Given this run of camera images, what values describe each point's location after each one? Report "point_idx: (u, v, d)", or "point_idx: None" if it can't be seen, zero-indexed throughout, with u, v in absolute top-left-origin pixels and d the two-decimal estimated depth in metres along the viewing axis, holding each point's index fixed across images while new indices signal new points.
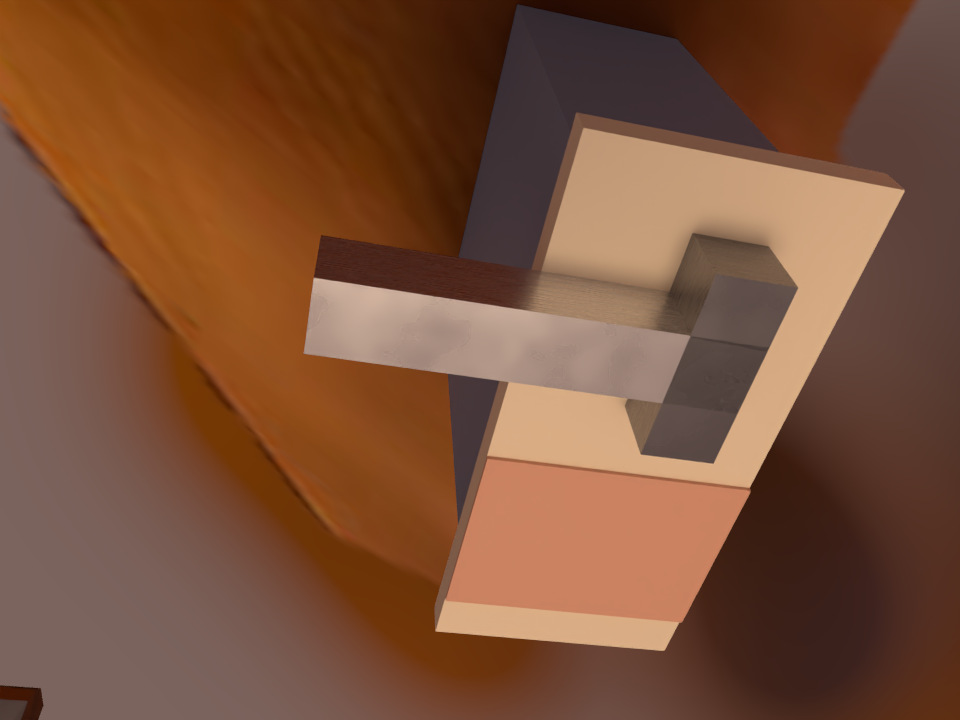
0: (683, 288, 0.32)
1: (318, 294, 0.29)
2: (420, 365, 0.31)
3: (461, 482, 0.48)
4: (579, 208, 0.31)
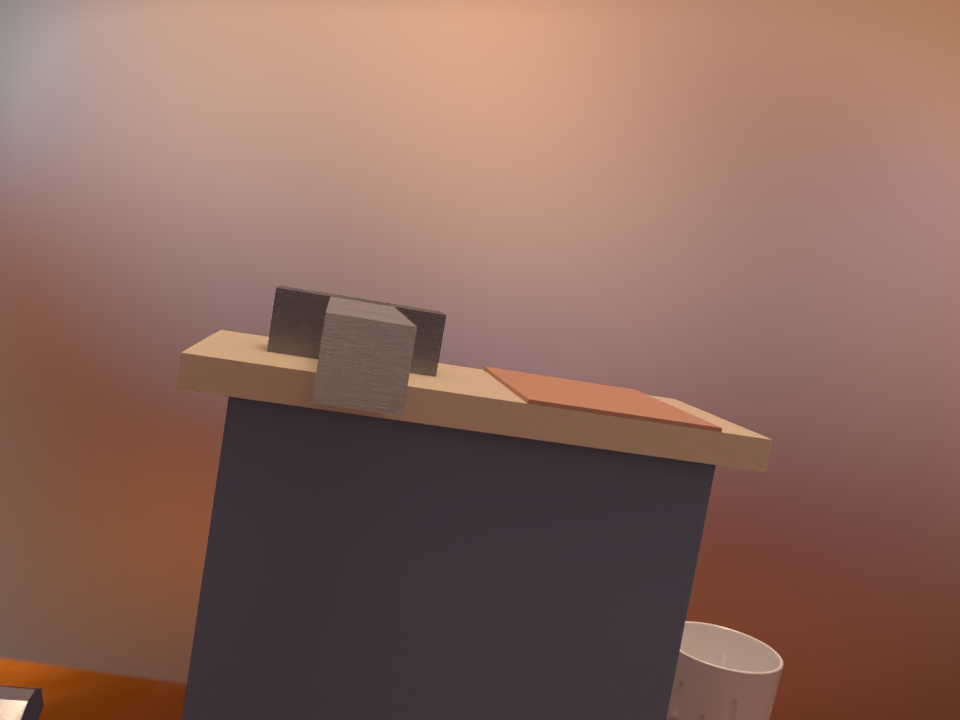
0: (307, 335, 0.42)
1: (344, 315, 0.29)
2: (403, 318, 0.33)
3: (666, 579, 0.41)
4: (254, 361, 0.37)
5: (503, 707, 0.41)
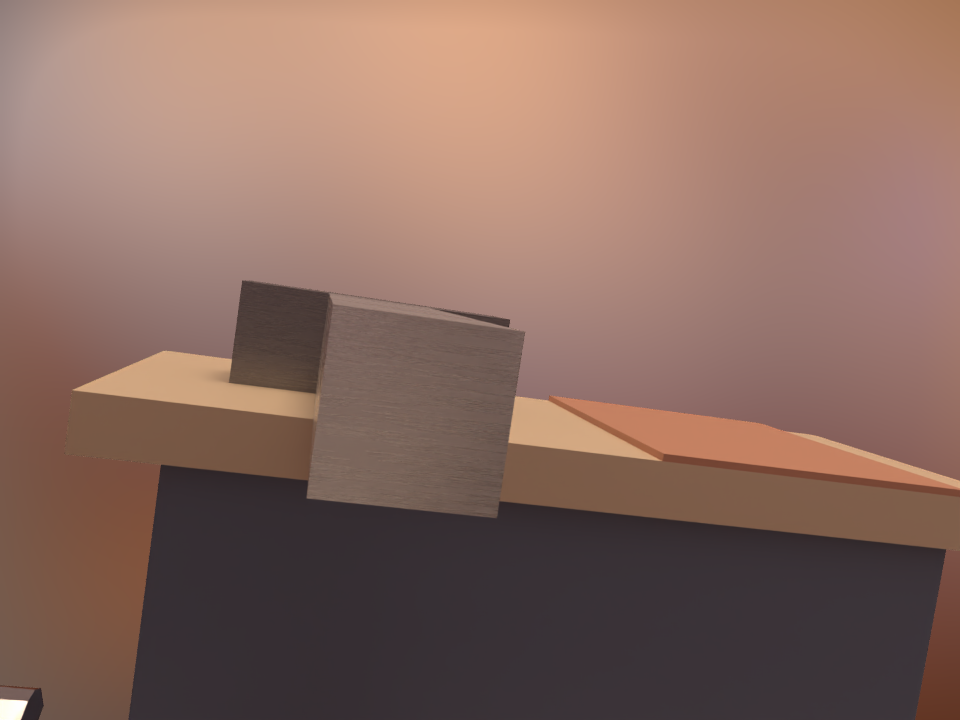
0: (293, 356, 0.26)
1: (372, 309, 0.14)
2: (472, 319, 0.18)
3: None
4: (203, 402, 0.22)
5: None
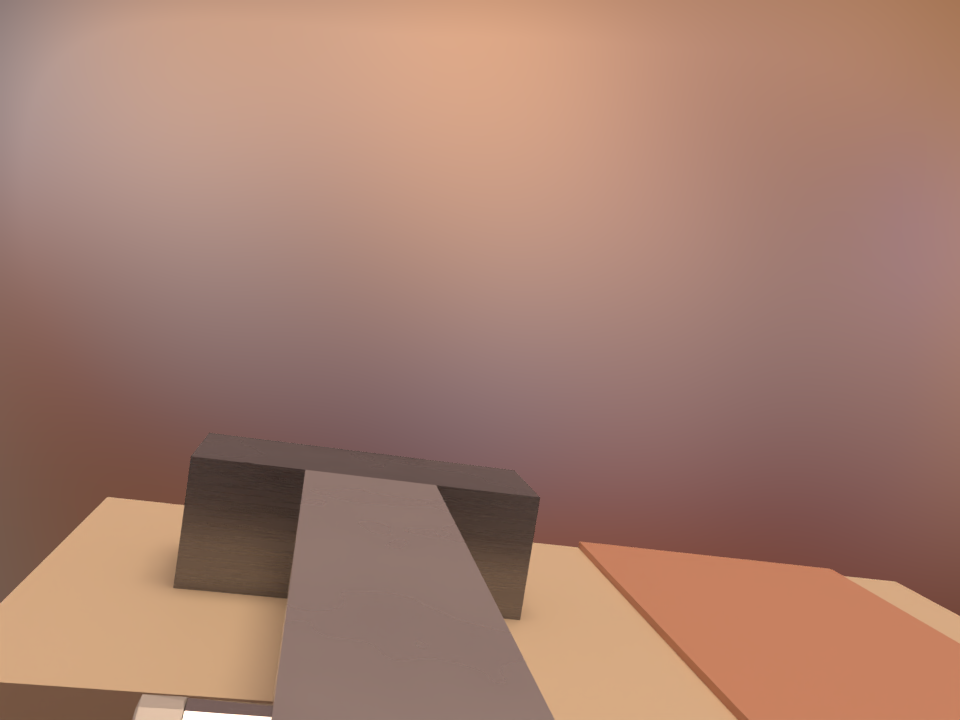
0: (258, 551, 0.20)
1: None
2: (502, 640, 0.12)
3: None
4: (120, 672, 0.16)
5: None
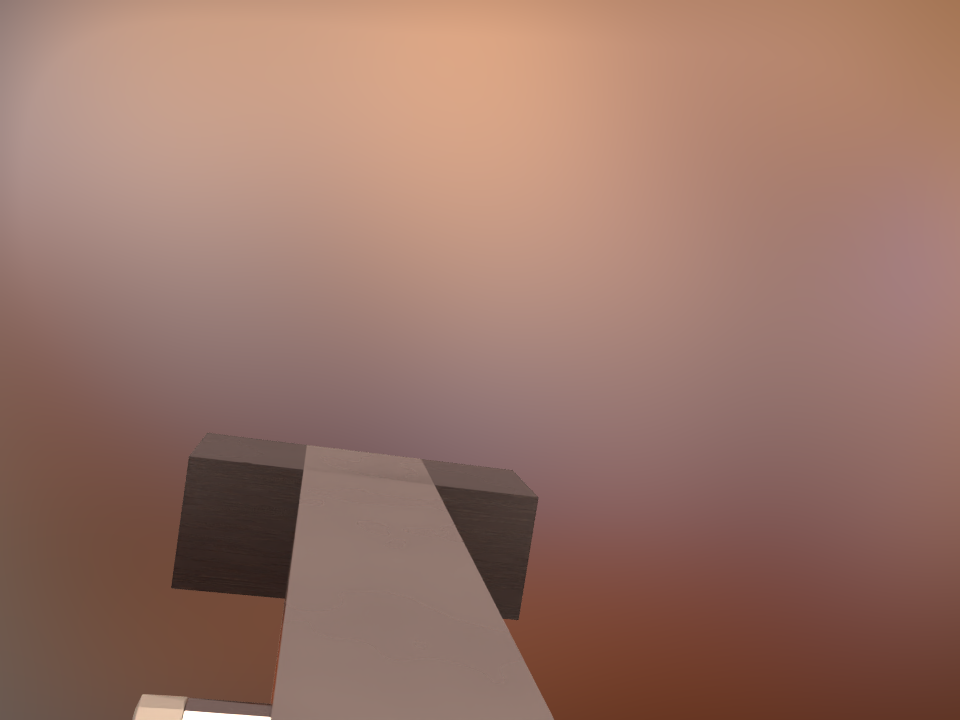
0: (256, 551, 0.20)
1: None
2: (500, 640, 0.12)
3: None
4: None
5: None
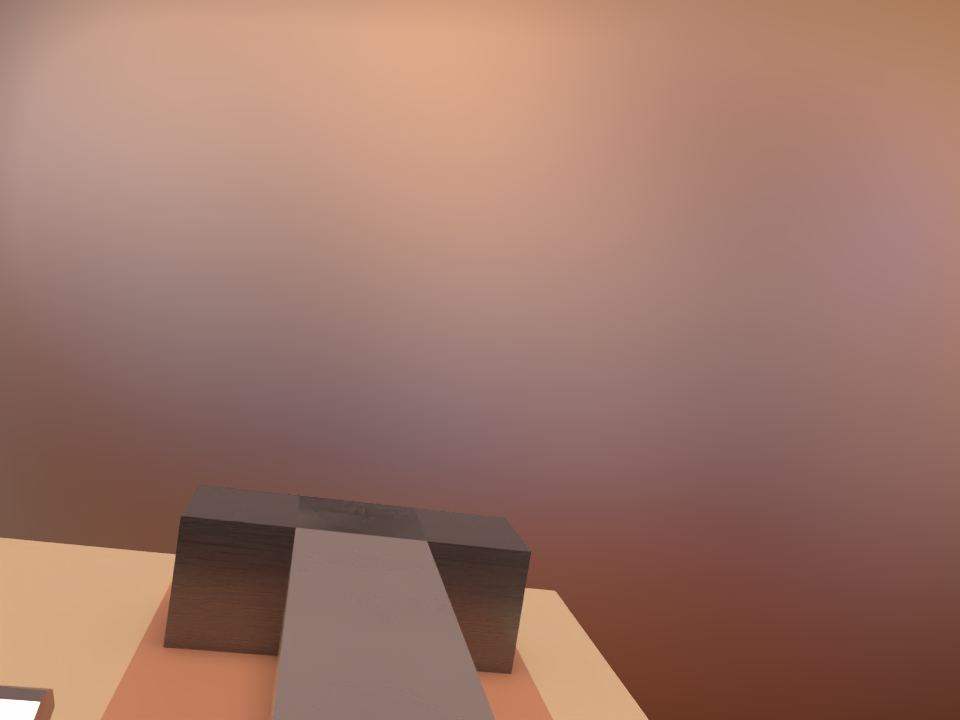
0: (249, 609, 0.20)
1: None
2: None
3: None
4: None
5: None
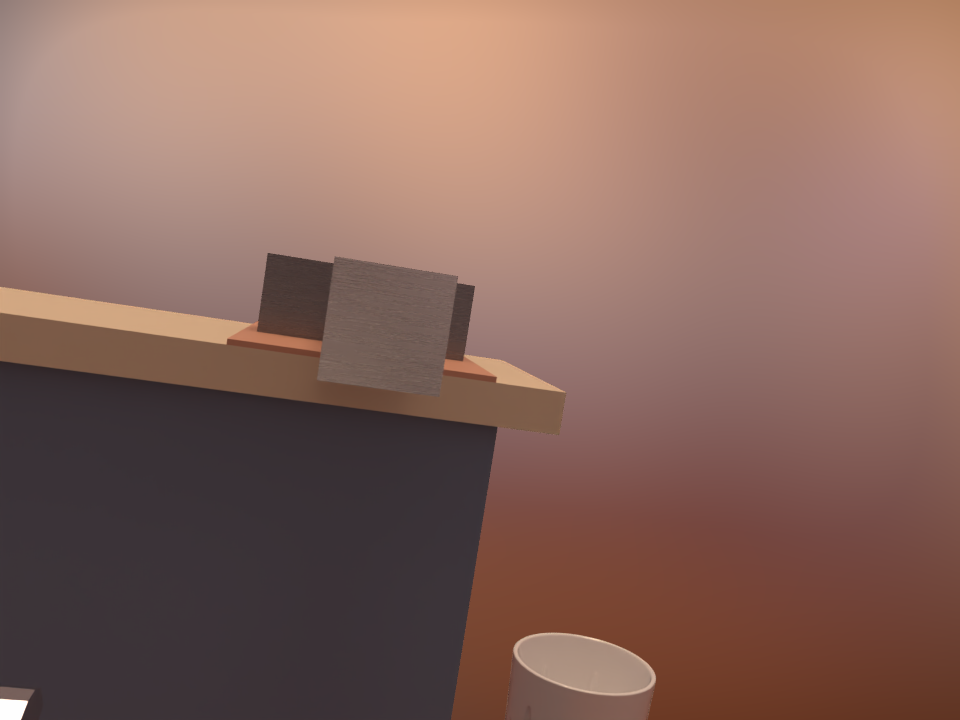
0: (306, 311, 0.34)
1: None
2: None
3: (437, 578, 0.32)
4: None
5: None
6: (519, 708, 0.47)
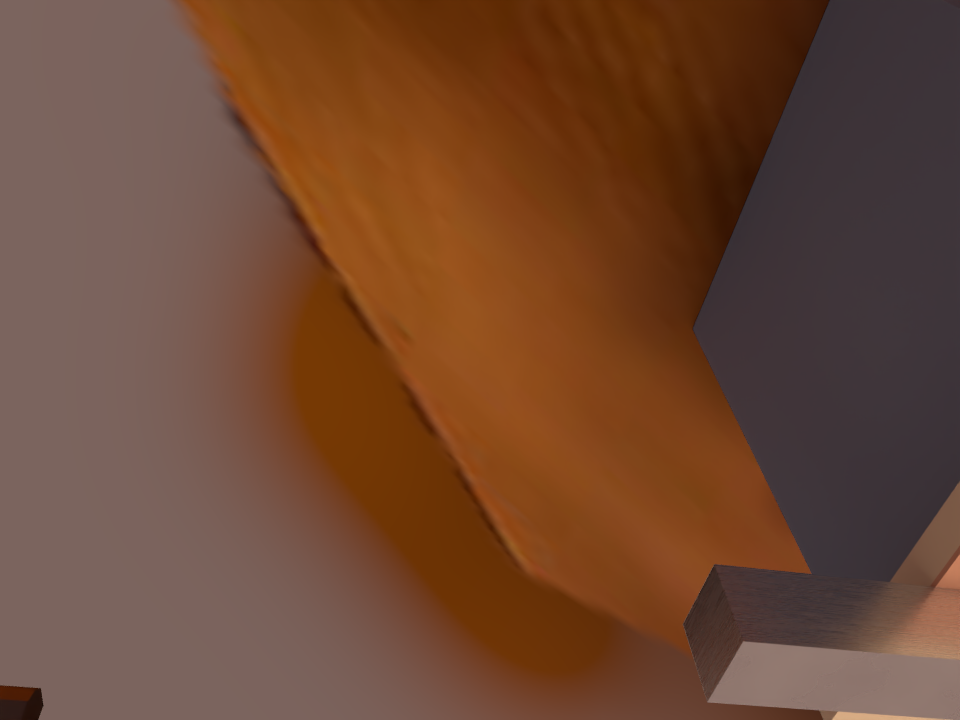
0: None
1: (742, 654, 0.27)
2: (824, 707, 0.29)
3: (814, 534, 0.39)
4: None
5: (818, 325, 0.41)
6: None
